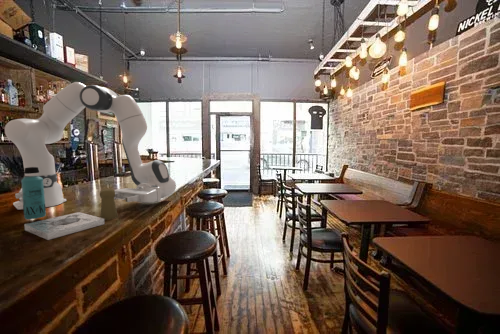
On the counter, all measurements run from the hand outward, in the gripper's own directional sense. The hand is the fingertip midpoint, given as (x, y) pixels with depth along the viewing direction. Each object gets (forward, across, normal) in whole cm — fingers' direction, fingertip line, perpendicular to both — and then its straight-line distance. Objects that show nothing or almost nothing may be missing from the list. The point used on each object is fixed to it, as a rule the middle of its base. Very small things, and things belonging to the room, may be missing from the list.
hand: (118, 198), depth 104 cm
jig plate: (+18, -3, +6) cm, 20 cm away
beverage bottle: (+19, -21, +7) cm, 29 cm away
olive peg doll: (+4, 0, +7) cm, 8 cm away
